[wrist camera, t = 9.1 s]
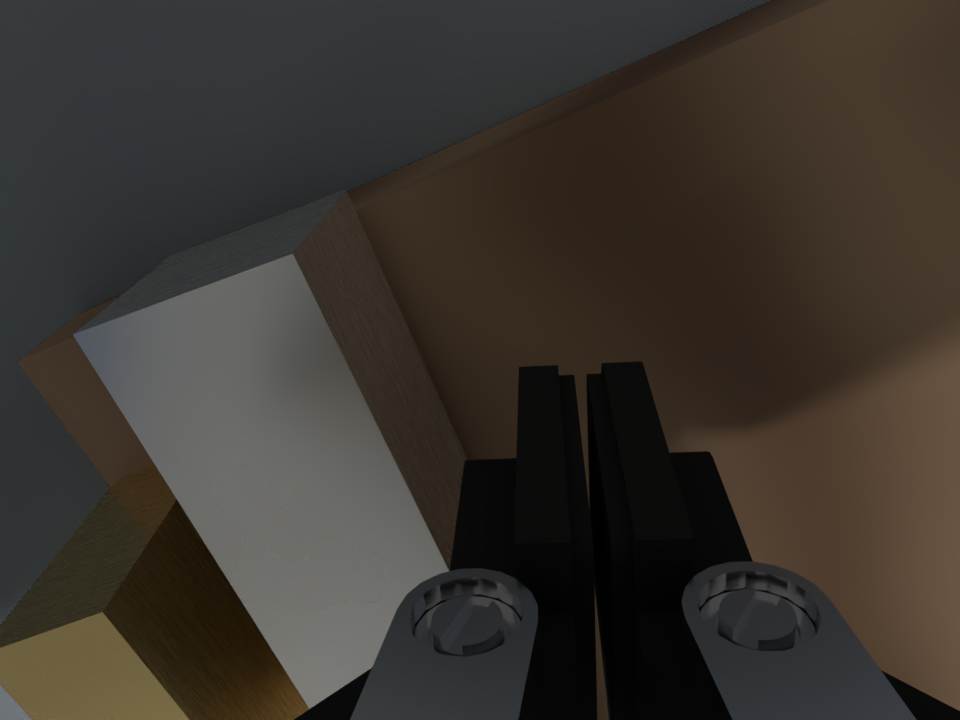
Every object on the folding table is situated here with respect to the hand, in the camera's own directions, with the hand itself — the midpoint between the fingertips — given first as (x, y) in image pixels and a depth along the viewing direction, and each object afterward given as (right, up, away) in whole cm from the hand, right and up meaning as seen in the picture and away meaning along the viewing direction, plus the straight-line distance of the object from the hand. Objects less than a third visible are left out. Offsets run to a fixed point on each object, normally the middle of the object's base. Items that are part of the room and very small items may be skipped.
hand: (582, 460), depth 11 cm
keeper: (-6, -2, +3) cm, 7 cm away
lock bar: (-1, -4, +4) cm, 6 cm away
